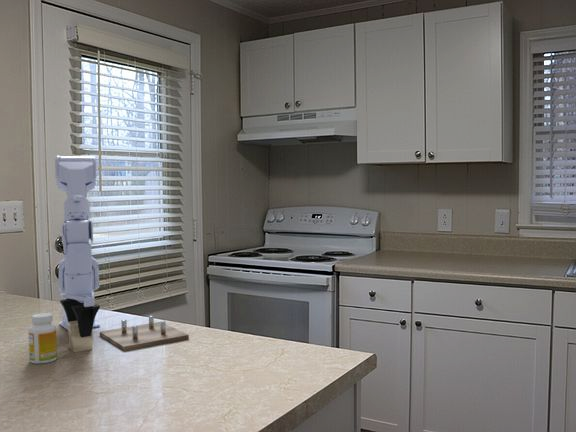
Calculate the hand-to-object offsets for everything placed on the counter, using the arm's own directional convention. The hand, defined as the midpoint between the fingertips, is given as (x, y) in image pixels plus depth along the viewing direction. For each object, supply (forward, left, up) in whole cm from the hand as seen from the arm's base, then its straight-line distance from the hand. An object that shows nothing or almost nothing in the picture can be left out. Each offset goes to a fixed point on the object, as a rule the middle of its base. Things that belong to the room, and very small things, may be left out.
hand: (80, 332), depth 132 cm
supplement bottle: (+4, -9, -4) cm, 11 cm away
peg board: (0, +15, -4) cm, 15 cm away
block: (0, 0, -4) cm, 4 cm away
